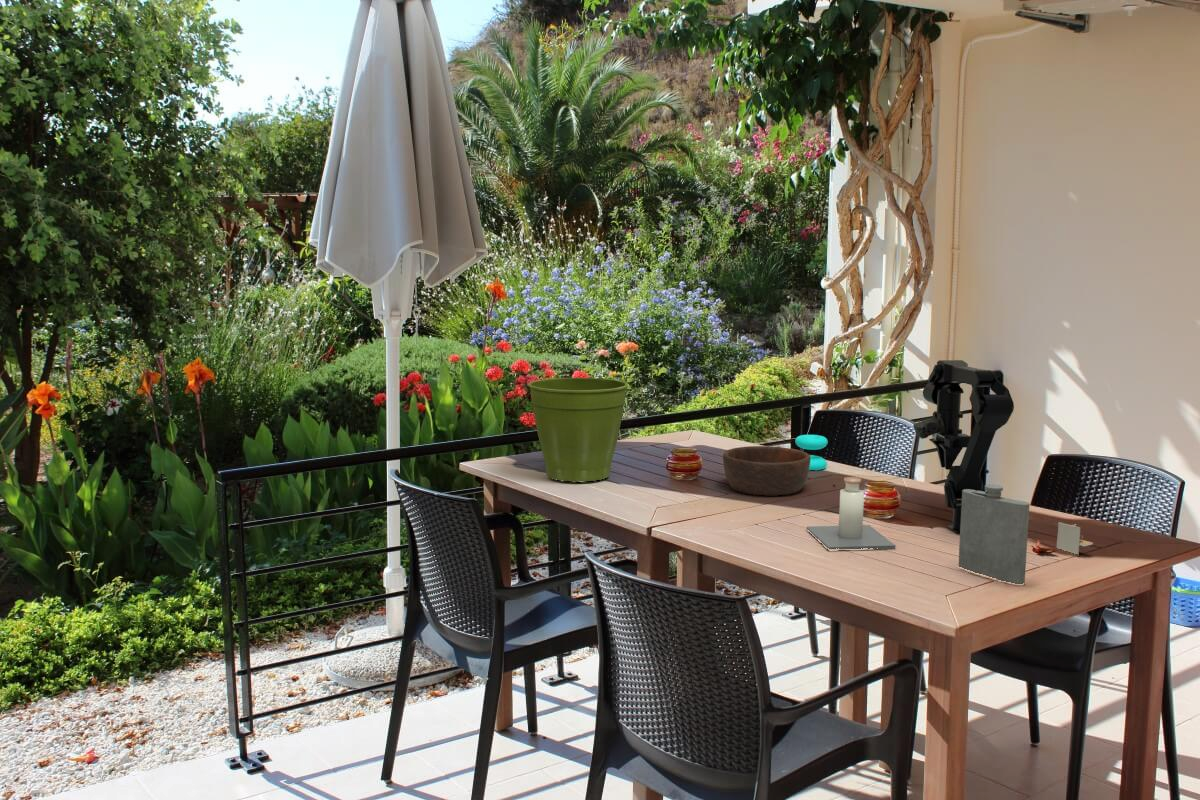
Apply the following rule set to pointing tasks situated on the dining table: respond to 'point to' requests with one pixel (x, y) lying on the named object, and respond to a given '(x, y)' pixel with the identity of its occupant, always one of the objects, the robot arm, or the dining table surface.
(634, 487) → the dining table surface
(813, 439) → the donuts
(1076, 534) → the pale grey angular piece
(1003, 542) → the hip flask
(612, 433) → the plant pot
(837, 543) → the charcoal tile board
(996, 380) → the robot arm
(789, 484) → the wooden bowl
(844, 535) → the corked frosted bottle
